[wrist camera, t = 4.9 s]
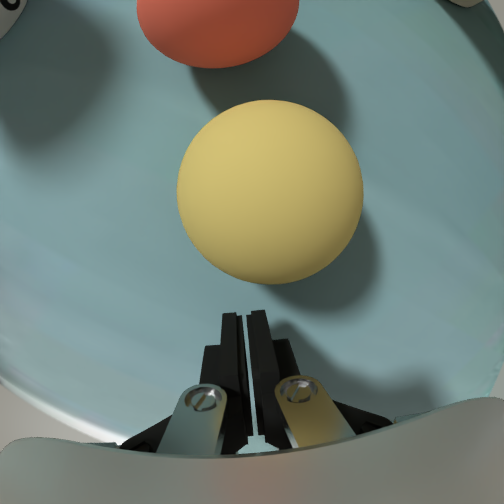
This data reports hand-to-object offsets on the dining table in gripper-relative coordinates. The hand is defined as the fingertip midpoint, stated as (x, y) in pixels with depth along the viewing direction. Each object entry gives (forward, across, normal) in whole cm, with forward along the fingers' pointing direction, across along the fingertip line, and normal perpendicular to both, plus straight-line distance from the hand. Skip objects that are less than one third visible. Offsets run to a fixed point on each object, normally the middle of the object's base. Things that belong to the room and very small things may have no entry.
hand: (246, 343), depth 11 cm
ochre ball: (-1, -1, -6) cm, 6 cm away
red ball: (-1, 0, -13) cm, 13 cm away
